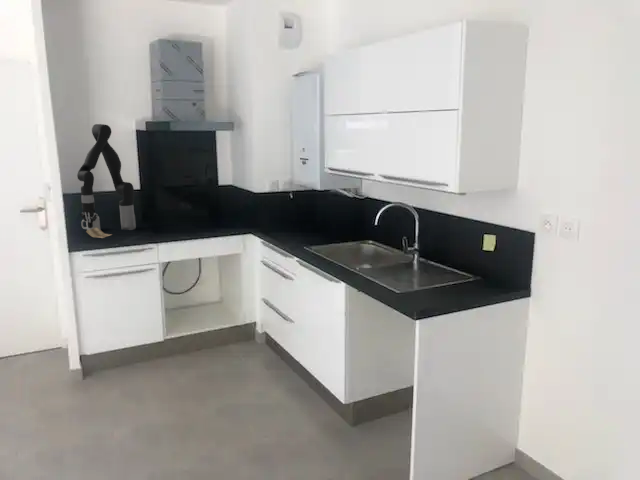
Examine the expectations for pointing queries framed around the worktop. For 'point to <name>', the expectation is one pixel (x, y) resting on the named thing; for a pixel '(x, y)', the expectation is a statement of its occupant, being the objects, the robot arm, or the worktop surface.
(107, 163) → the robot arm
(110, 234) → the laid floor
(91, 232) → the plank
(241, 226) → the worktop surface
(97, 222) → the mug
